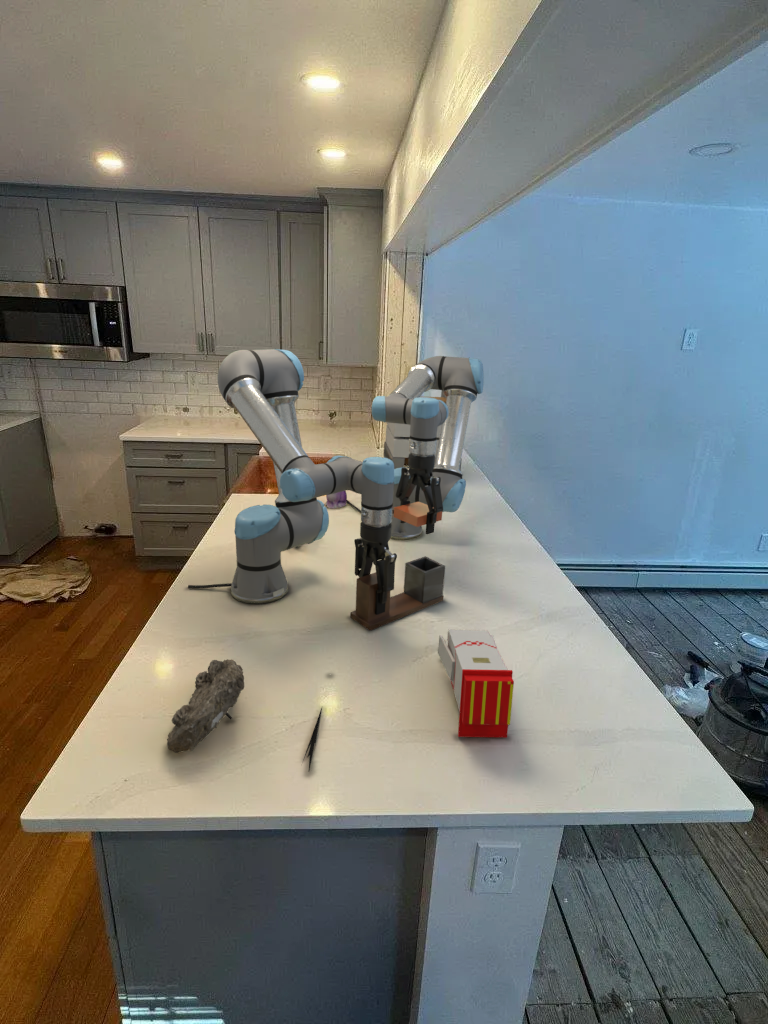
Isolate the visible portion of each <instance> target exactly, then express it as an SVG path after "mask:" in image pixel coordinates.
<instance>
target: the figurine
mask: <svg viewBox="0 0 768 1024" xmlns="http://www.w3.org/2000/svg"><path fill="white" fill-rule="evenodd" d="M325 497H326V503H325V505H326V508H327V509H328V508H329V509H339V508H344V507H345V506H346V505H347V502H346V501H347V500H348V495H347V490H346V491H342V492H338V493H334V494H329V495H325Z"/></svg>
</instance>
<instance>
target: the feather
mask: <svg viewBox="0 0 768 1024" xmlns="http://www.w3.org/2000/svg"><path fill="white" fill-rule="evenodd" d="M329 675H330V676H331V675H332V674H331V673H330V674H329ZM322 710H323V707H321V708H320V710H319V713H318V716H317V719H316V723H315V725H314V728H313V731H312V733H311V737H310V739H309V742H308V745H307V748H306V751H305V754H304V757H303V760H302V763H301V767H302V765H303V763H304V761H305V758H308V759H309V760H308V762H307V763H308V764H307V766H308V771H310V770H311V766H312V765H311V764H312V760H313V757H315V756H314V755H315V751H316V749H315V746H317V739H318V733H319V729H320V722H321V717H322V712H323V711H322ZM313 754H314V755H313ZM306 755H307V757H306Z"/></svg>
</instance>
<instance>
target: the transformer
mask: <svg viewBox="0 0 768 1024" xmlns="http://www.w3.org/2000/svg"><path fill="white" fill-rule="evenodd" d="M399 385H400V384H398V385H397V386H396V388H397V387H398V386H399ZM443 392H444V390H441V392H440V393H441V394H440V396H428V397H429V398H435V399H437V400H441V401H443V402H444V403H445V404H446V397H445V396H444V395H443ZM385 423H386V428H385V438H384V442H383V458H388V459H390V460H392V461H393V463H394V469H396V468H402V467H405V466H406V467H409V466H408V456H409V454H410V452H409V442H410V425H408V424H398V423H388V422H385ZM441 426H442V425H440V426H438V427H437V438H436V453H437V448H438V443H439V437H440V432H441ZM436 453H435V454H434V456H435V459H436ZM462 461H463V460H462V457H461V462H460V467H459V470H460V471H461V472H462Z"/></svg>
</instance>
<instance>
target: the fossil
mask: <svg viewBox="0 0 768 1024" xmlns="http://www.w3.org/2000/svg"><path fill="white" fill-rule="evenodd" d="M243 670H244V669H243V667H242V665H240V664H237V662H236V661H235V660H234V659H232V658H231V659H227V658H226V659H224V660H223V661H222V660H217V659H212V660H211V661H210V663H209V665H208V666H207V671H201V672H199V673H198V674H197V675H196V676H195V680H194V684H195V685H194V687H195V689H194V690H193V693H192V694H191V697H190V698H189V700H188V704H184V705H182V706H181V707H180V709H177V710H176V711H175V713H174V715H173V716H172V718H171V723H172V724H173V727H172V730H171V731H170V732H168V734H167V738H166V741H167V742H166V745H167V749H168V750H169V751H173V752H174V753H176V754H178V753H182V752H188V751H189V752H192V751H193V750H195V748H196V747H197V746H199V744H200V743H201V742H203V741H204V740H205V739H206V738H207V737H208V736H209V735H210V734H211V733H212V732H214V730H215V729H217V727H218V726H219V724H220V722H221V721H222V720H223V719H224V718H225V716H226V717H227V719H229V720H233V717H232V715H230V714H229V710H230V709H231V708H234V706H235V704H236V703H237V702H238V699H239V697H240V695H241V693H242V691H243V690H245V689H244V688H245V675H244V671H243Z"/></svg>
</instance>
